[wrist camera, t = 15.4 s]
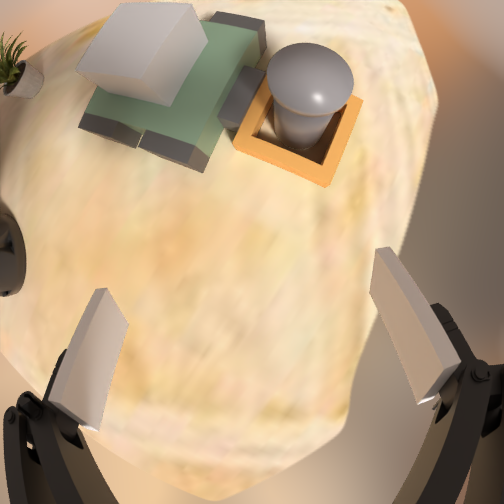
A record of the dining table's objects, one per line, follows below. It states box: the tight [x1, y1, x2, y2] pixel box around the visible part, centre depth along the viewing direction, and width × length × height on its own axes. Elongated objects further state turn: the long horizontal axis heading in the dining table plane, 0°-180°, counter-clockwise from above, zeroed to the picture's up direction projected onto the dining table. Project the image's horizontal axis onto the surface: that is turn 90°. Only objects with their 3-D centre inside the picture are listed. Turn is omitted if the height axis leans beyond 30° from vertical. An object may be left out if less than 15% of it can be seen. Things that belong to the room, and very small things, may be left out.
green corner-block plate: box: [75, 2, 363, 188], centre depth 23 cm, size 30×19×13 cm, turn 66°
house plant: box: [0, 33, 44, 99], centre depth 23 cm, size 14×14×16 cm
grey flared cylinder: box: [267, 43, 354, 150], centre depth 23 cm, size 6×6×13 cm
